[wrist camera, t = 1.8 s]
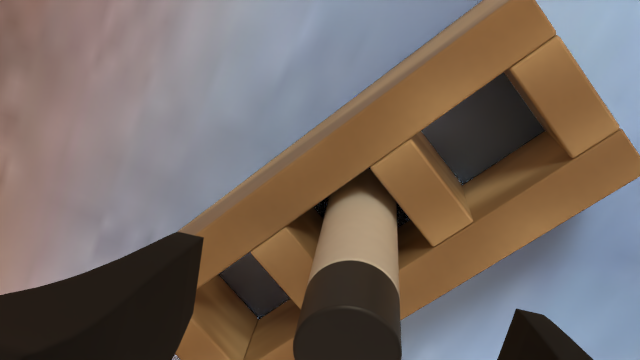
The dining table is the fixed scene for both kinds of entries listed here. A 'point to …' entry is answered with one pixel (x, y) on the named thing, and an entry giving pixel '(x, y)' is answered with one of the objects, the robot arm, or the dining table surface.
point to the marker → (353, 279)
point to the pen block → (415, 178)
